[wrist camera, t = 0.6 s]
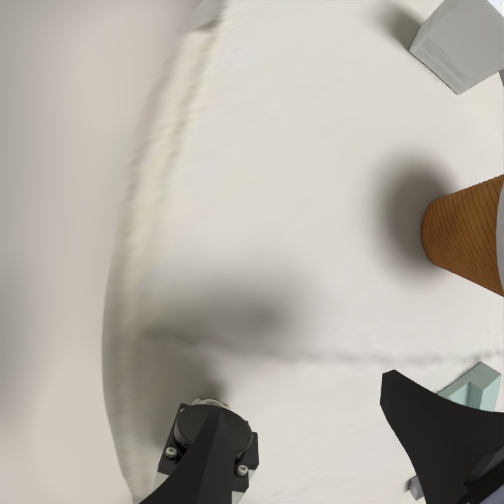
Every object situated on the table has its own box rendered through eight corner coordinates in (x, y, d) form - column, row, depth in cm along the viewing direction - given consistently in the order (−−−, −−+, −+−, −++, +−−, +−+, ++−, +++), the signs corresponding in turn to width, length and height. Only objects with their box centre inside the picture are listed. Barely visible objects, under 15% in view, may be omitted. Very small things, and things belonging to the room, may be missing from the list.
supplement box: (458, 97, 19) (534, 54, 6) (406, 51, 19) (469, -15, 6) (466, 65, 19) (527, 24, 6) (420, 24, 18) (471, -31, 6)
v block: (476, 401, 22) (493, 415, 18) (416, 442, 22) (431, 461, 18) (481, 361, 21) (501, 374, 17) (417, 405, 21) (435, 425, 17)
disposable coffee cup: (445, 304, 21) (539, 344, 9) (386, 238, 20) (501, 248, 8) (486, 228, 20) (576, 232, 8) (436, 158, 20) (535, 125, 8)
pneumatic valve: (172, 447, 21) (143, 538, 9) (197, 356, 21) (155, 465, 9) (226, 461, 22) (218, 555, 10) (263, 375, 21) (276, 491, 9)
